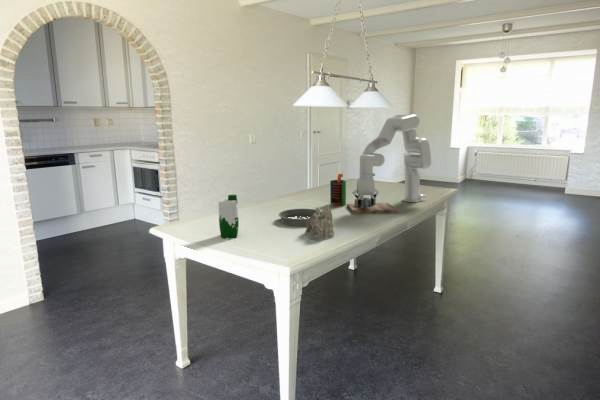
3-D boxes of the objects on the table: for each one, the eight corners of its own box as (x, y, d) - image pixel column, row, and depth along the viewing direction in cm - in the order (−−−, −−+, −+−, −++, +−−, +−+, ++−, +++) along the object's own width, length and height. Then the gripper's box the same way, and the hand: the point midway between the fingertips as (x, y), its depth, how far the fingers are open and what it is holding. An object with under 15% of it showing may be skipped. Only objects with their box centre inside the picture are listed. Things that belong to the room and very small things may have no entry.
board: (387, 205, 261) (387, 192, 259) (397, 212, 242) (397, 198, 240) (346, 207, 259) (347, 193, 257) (353, 214, 239) (354, 200, 238)
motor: (328, 205, 265) (328, 174, 261) (333, 202, 273) (334, 172, 269) (343, 206, 260) (343, 175, 256) (348, 204, 268) (348, 173, 264)
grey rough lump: (314, 228, 209) (313, 200, 205) (340, 235, 199) (341, 205, 195) (294, 237, 198) (293, 207, 194) (321, 245, 188) (321, 213, 184)
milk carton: (238, 238, 194) (236, 196, 190) (219, 239, 194) (216, 197, 190) (239, 233, 203) (238, 193, 199) (221, 233, 202) (219, 194, 198)
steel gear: (369, 205, 248) (369, 197, 247) (372, 207, 241) (372, 200, 240) (358, 205, 247) (358, 198, 246) (361, 207, 241) (361, 200, 240)
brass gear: (367, 203, 258) (367, 197, 257) (370, 206, 249) (370, 200, 248) (353, 204, 257) (353, 198, 256) (356, 207, 249) (356, 200, 248)
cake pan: (269, 221, 227) (269, 213, 226) (303, 214, 243) (303, 206, 242) (298, 229, 209) (298, 221, 208) (332, 221, 224) (332, 213, 224)
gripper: (378, 174, 245) (378, 203, 249) (350, 175, 244) (349, 204, 247) (382, 176, 238) (381, 206, 241) (352, 177, 236) (352, 207, 240)
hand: (365, 205), depth 244 cm, fingers closed on steel gear, 6 cm apart
